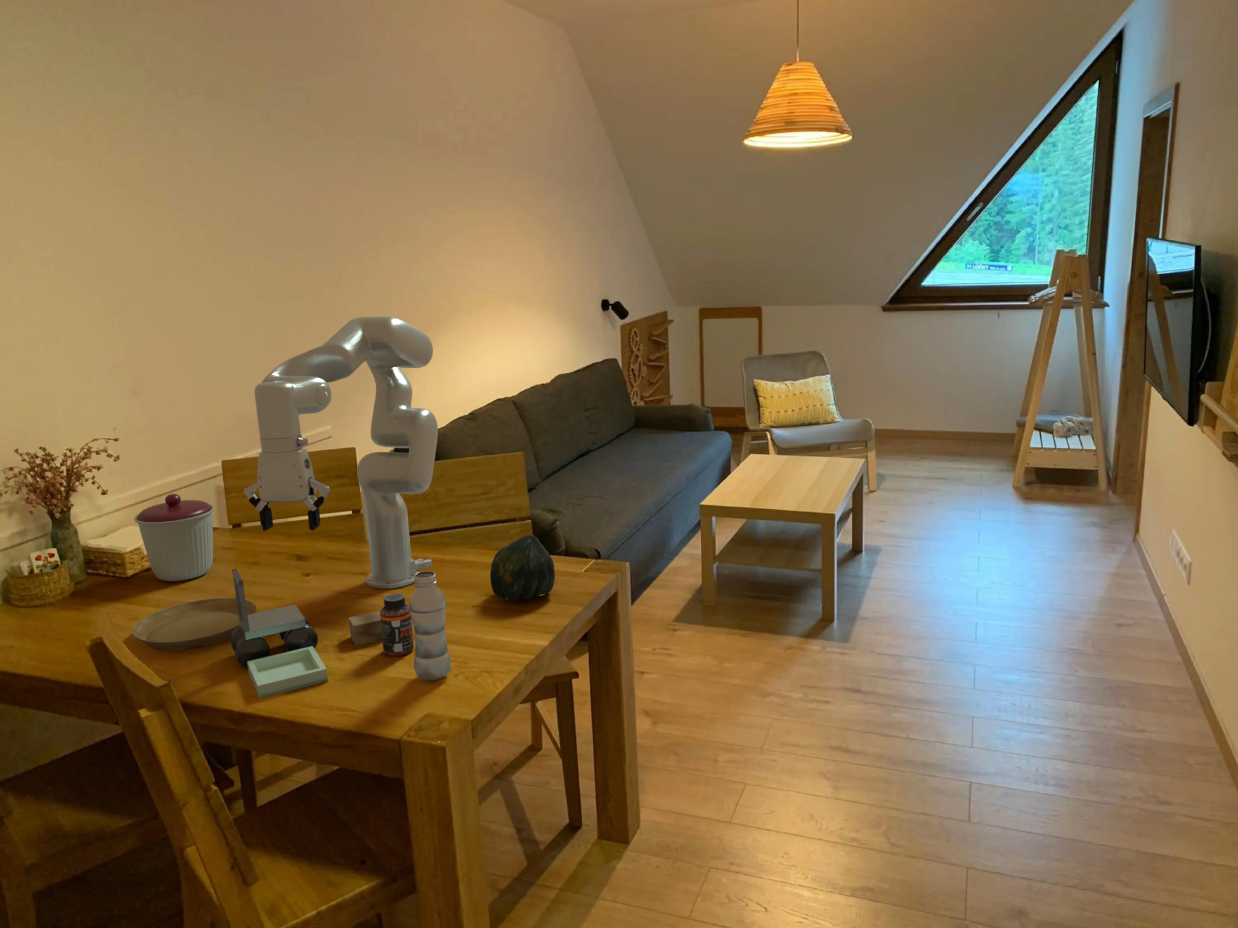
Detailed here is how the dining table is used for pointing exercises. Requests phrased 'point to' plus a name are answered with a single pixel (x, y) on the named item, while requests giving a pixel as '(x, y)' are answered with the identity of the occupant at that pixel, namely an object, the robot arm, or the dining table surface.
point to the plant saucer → (191, 624)
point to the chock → (365, 628)
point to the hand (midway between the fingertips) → (291, 528)
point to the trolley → (267, 628)
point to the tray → (287, 672)
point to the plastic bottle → (429, 628)
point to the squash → (522, 570)
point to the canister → (178, 538)
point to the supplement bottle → (396, 626)
